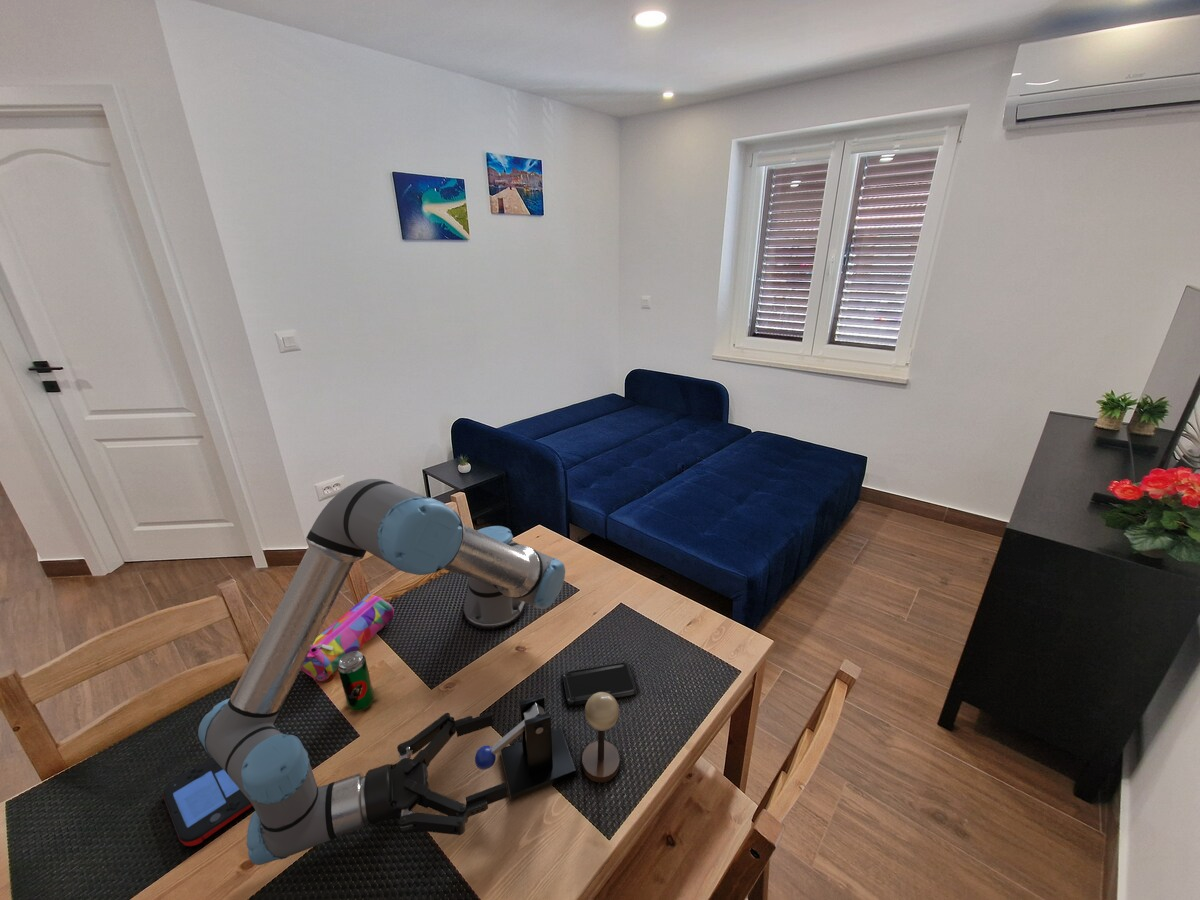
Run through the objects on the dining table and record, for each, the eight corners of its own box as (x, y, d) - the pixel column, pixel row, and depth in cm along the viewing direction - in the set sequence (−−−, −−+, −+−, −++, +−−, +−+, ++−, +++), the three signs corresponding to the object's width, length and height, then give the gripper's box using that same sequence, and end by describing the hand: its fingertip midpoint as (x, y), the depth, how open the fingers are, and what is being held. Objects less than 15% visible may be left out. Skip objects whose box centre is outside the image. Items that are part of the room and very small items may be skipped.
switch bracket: (510, 800, 84) (505, 743, 78) (500, 753, 92) (495, 698, 86) (576, 775, 88) (575, 719, 82) (561, 732, 96) (560, 678, 90)
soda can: (380, 697, 103) (370, 654, 98) (360, 716, 98) (348, 673, 94) (363, 688, 104) (352, 646, 100) (342, 706, 100) (330, 664, 95)
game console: (276, 791, 85) (273, 783, 84) (186, 857, 76) (181, 848, 75) (247, 741, 93) (244, 733, 92) (163, 794, 84) (158, 786, 83)
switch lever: (485, 777, 83) (471, 770, 82) (481, 758, 86) (468, 751, 85) (550, 723, 84) (538, 715, 82) (544, 706, 87) (532, 698, 85)
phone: (562, 672, 108) (627, 661, 111) (562, 676, 108) (627, 665, 111) (567, 703, 100) (637, 690, 103) (568, 707, 101) (637, 694, 104)
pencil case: (328, 692, 103) (319, 661, 100) (296, 679, 106) (285, 648, 103) (400, 623, 122) (394, 594, 119) (370, 613, 125) (364, 585, 121)
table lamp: (576, 752, 92) (576, 688, 85) (610, 740, 95) (612, 677, 88) (589, 788, 86) (590, 722, 79) (625, 774, 89) (629, 709, 82)
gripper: (373, 744, 90) (488, 707, 97) (368, 901, 69) (516, 839, 76) (365, 716, 87) (485, 680, 94) (358, 872, 65) (513, 810, 73)
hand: (499, 751), depth 85 cm, fingers open, 13 cm apart
